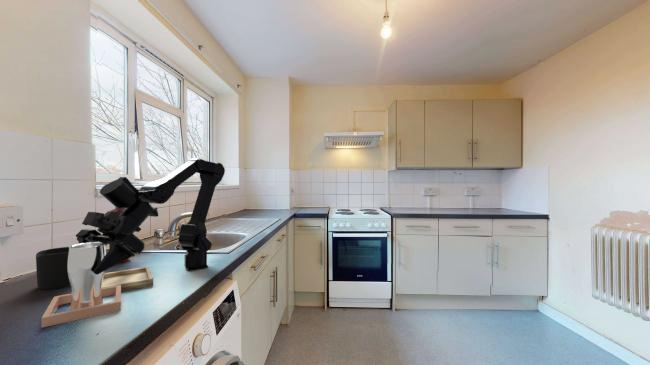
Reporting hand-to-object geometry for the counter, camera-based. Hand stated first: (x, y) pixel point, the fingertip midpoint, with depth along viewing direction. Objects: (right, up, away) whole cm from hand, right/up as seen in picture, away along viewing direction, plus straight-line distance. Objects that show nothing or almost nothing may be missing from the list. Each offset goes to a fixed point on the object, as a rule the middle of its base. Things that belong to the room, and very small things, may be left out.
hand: (82, 271), depth 63 cm
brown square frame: (0, -9, +1) cm, 9 cm away
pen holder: (-21, -9, +15) cm, 27 cm away
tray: (-3, -9, +16) cm, 19 cm away
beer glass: (0, -9, +1) cm, 9 cm away
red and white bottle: (-21, -9, +38) cm, 44 cm away
